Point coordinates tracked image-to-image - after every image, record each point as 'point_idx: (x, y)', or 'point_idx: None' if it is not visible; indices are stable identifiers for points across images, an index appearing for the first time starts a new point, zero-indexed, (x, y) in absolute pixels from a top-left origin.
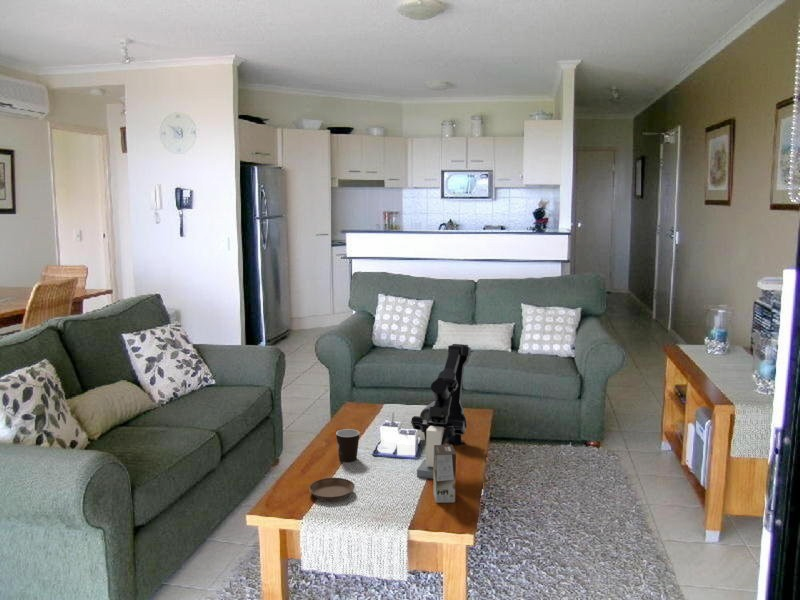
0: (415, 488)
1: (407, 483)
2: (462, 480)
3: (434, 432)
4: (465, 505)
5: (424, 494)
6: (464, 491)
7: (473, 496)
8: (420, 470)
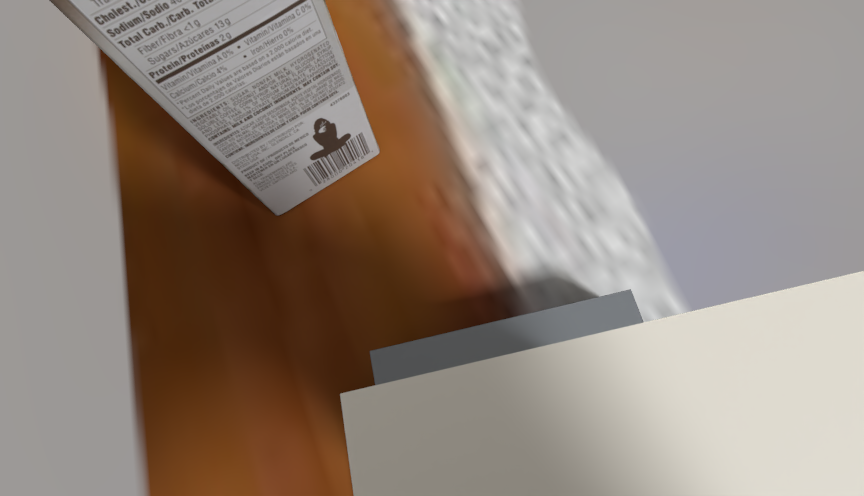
0: (503, 131)
1: (596, 167)
2: (257, 432)
3: (616, 334)
4: (148, 98)
5: (410, 93)
6: (194, 255)
7: (125, 219)
8: (597, 297)
